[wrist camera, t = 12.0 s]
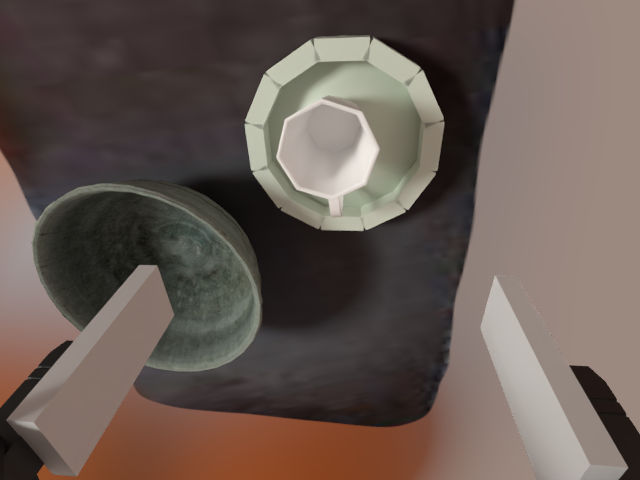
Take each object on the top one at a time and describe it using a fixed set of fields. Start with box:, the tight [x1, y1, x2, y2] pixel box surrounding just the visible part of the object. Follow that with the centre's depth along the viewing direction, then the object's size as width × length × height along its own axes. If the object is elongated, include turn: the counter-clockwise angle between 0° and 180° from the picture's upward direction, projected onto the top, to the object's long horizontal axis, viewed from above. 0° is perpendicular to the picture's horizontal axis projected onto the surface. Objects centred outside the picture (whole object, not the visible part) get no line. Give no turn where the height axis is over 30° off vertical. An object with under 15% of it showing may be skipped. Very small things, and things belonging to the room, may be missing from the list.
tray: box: [245, 35, 445, 231], centre depth 31 cm, size 16×16×3 cm
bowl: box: [32, 179, 263, 371], centre depth 36 cm, size 21×21×10 cm
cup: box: [276, 95, 380, 218], centre depth 28 cm, size 7×10×8 cm
